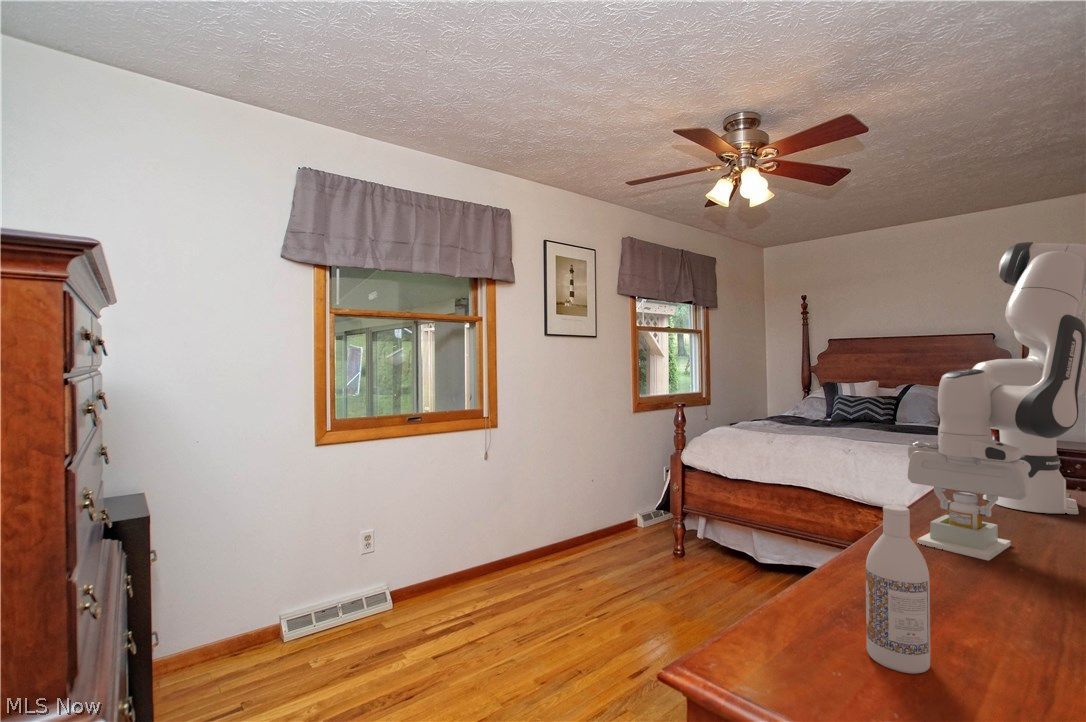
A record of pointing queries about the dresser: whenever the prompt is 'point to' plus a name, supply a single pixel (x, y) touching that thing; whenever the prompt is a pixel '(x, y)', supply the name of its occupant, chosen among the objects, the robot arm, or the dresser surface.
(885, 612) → the bath foam
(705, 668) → the dresser surface
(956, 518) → the supplement bottle
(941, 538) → the caddy
